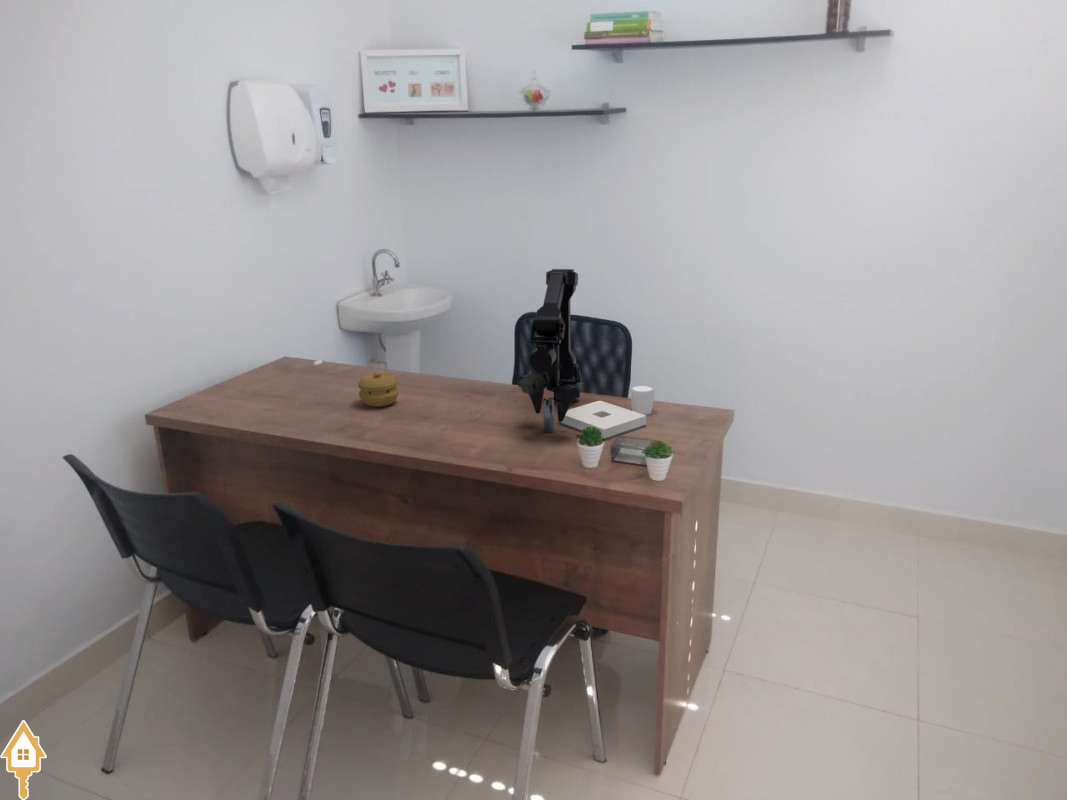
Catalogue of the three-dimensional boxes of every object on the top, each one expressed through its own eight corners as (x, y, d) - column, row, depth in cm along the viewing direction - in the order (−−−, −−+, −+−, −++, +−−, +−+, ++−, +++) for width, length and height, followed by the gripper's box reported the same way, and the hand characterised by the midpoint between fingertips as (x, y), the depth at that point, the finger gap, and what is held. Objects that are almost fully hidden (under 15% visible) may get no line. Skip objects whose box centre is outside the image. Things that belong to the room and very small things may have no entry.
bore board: (558, 423, 228) (558, 412, 227) (599, 410, 238) (599, 400, 237) (604, 440, 215) (604, 429, 214) (646, 425, 225) (646, 415, 224)
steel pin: (541, 430, 223) (541, 399, 220) (549, 428, 224) (549, 397, 222) (548, 433, 221) (548, 401, 218) (556, 431, 222) (556, 399, 220)
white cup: (648, 417, 232) (648, 393, 230) (625, 413, 235) (626, 389, 233) (657, 410, 237) (658, 386, 235) (635, 406, 241) (636, 383, 239)
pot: (352, 408, 244) (349, 376, 241) (372, 396, 254) (369, 365, 251) (387, 412, 240) (385, 379, 237) (406, 399, 251) (404, 368, 248)
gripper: (502, 360, 218) (503, 415, 223) (548, 374, 205) (549, 433, 210) (534, 352, 225) (535, 406, 230) (581, 366, 212) (581, 423, 216)
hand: (549, 417), depth 221 cm, fingers open, 9 cm apart
